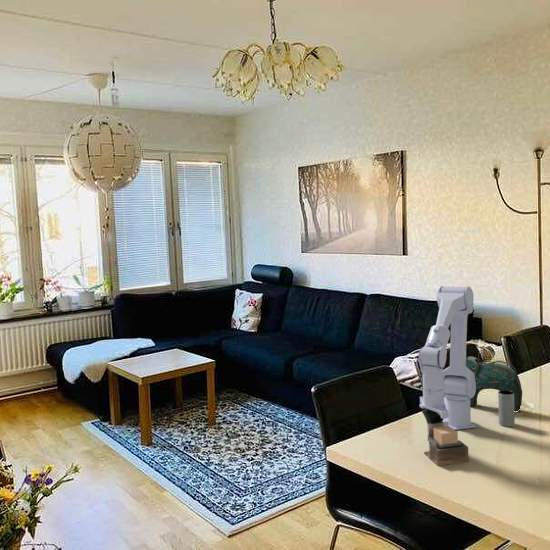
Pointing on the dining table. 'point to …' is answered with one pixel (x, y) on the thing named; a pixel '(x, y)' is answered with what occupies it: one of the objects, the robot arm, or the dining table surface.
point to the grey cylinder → (506, 408)
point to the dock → (448, 454)
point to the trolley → (442, 435)
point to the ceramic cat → (494, 378)
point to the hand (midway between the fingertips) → (434, 435)
